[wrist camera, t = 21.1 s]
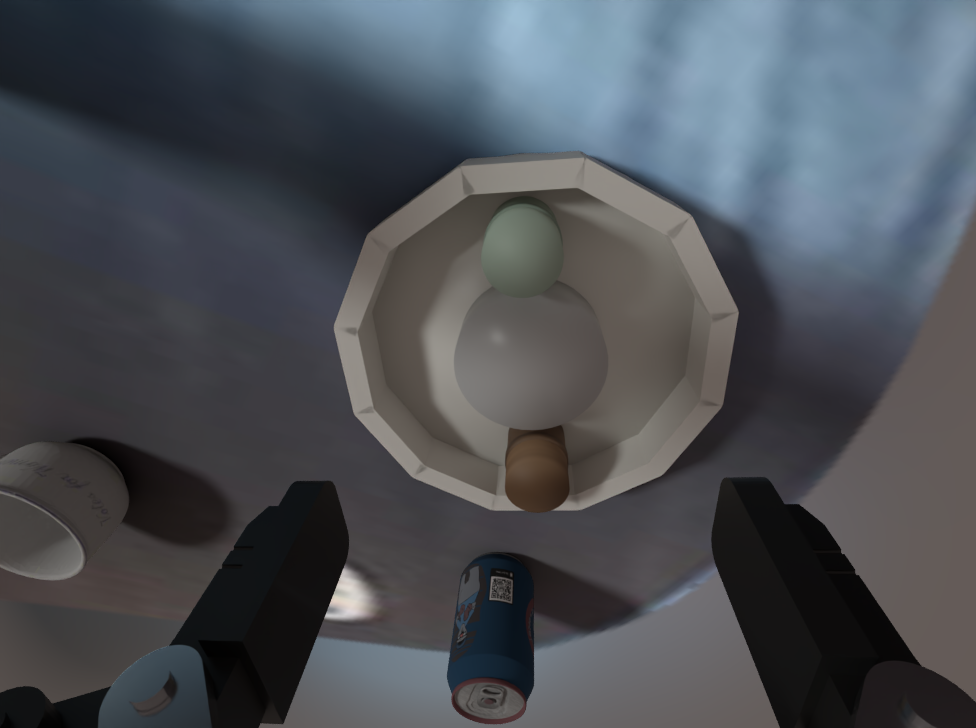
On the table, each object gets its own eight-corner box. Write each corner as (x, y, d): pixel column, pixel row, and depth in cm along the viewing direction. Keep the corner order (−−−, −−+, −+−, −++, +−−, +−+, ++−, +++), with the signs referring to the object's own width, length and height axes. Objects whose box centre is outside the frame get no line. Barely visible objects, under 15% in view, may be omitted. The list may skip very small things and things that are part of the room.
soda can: (525, 601, 51) (523, 735, 40) (457, 588, 50) (437, 720, 40) (540, 554, 47) (543, 687, 37) (468, 541, 47) (450, 670, 37)
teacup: (168, 477, 46) (104, 546, 39) (117, 532, 50) (50, 604, 43) (20, 379, 42) (-82, 436, 35) (-23, 447, 46) (-122, 512, 39)
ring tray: (326, 166, 32) (298, 177, 28) (736, 137, 30) (767, 144, 26) (390, 472, 44) (377, 510, 40) (688, 470, 41) (704, 510, 37)
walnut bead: (505, 411, 39) (501, 462, 34) (565, 410, 38) (571, 461, 33) (508, 459, 41) (505, 513, 36) (565, 458, 41) (570, 513, 35)
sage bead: (484, 196, 31) (475, 218, 26) (559, 192, 31) (565, 212, 26) (489, 268, 33) (482, 301, 28) (559, 265, 33) (565, 298, 28)
